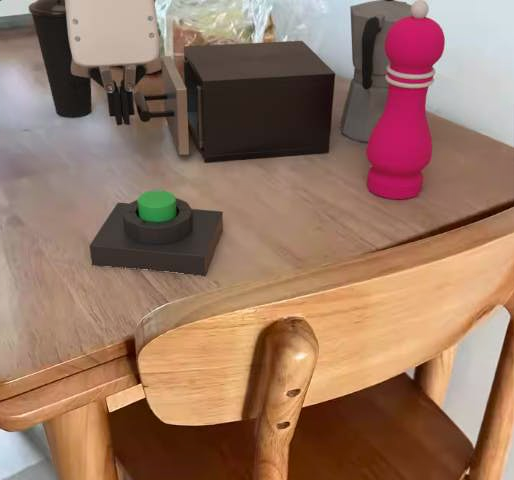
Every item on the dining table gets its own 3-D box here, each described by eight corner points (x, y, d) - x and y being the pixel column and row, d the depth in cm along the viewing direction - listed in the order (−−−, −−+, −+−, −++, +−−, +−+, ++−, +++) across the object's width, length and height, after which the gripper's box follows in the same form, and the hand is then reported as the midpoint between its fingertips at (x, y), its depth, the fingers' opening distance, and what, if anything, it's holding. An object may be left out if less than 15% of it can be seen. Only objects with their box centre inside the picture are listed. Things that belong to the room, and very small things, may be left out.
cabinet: (204, 162, 89) (202, 81, 83) (186, 121, 99) (183, 46, 93) (328, 153, 92) (335, 73, 86) (298, 113, 102) (302, 40, 96)
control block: (92, 265, 70) (86, 228, 67) (119, 221, 77) (116, 186, 74) (205, 276, 68) (204, 239, 66) (222, 230, 75) (222, 195, 73)
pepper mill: (435, 185, 85) (469, -2, 73) (409, 208, 80) (440, 13, 68) (379, 169, 88) (403, -12, 76) (351, 190, 83) (371, 1, 71)
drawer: (144, 158, 87) (139, 91, 82) (133, 119, 97) (128, 58, 92) (296, 146, 91) (299, 82, 86) (270, 110, 100) (272, 50, 96)
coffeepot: (353, 109, 104) (367, -31, 93) (418, 119, 101) (441, -23, 90) (318, 148, 93) (330, -6, 82) (391, 161, 90) (413, 4, 79)
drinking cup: (35, 117, 99) (6, -48, 87) (63, 99, 105) (40, -59, 93) (85, 124, 98) (64, -43, 85) (111, 105, 103) (94, -54, 91)
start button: (134, 222, 69) (132, 205, 68) (144, 204, 72) (143, 188, 71) (171, 225, 69) (170, 208, 68) (180, 208, 72) (179, 191, 70)
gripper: (169, -54, 83) (178, 106, 94) (34, -50, 80) (59, 114, 92) (179, -41, 77) (187, 128, 89) (34, -36, 75) (61, 137, 86)
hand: (122, 120), depth 90 cm, fingers closed
